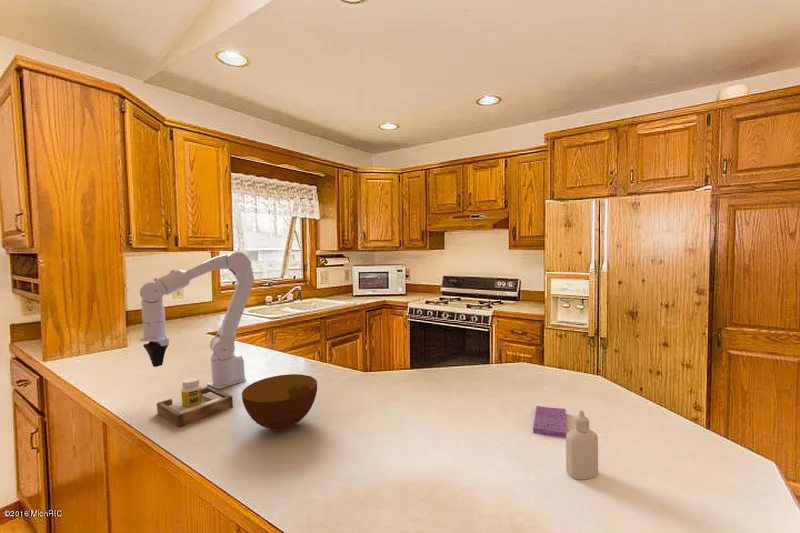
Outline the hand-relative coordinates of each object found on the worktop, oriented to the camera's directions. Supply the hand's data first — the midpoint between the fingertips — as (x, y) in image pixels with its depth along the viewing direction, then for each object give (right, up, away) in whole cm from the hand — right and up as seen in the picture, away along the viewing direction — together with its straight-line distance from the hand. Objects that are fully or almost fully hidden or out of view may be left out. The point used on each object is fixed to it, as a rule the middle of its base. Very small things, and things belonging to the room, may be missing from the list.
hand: (157, 365), depth 112 cm
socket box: (+17, -10, -9) cm, 22 cm away
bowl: (+45, -10, -21) cm, 50 cm away
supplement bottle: (+16, -10, -9) cm, 21 cm away
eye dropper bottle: (+108, -9, -44) cm, 116 cm away
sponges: (+110, -8, -24) cm, 112 cm away
